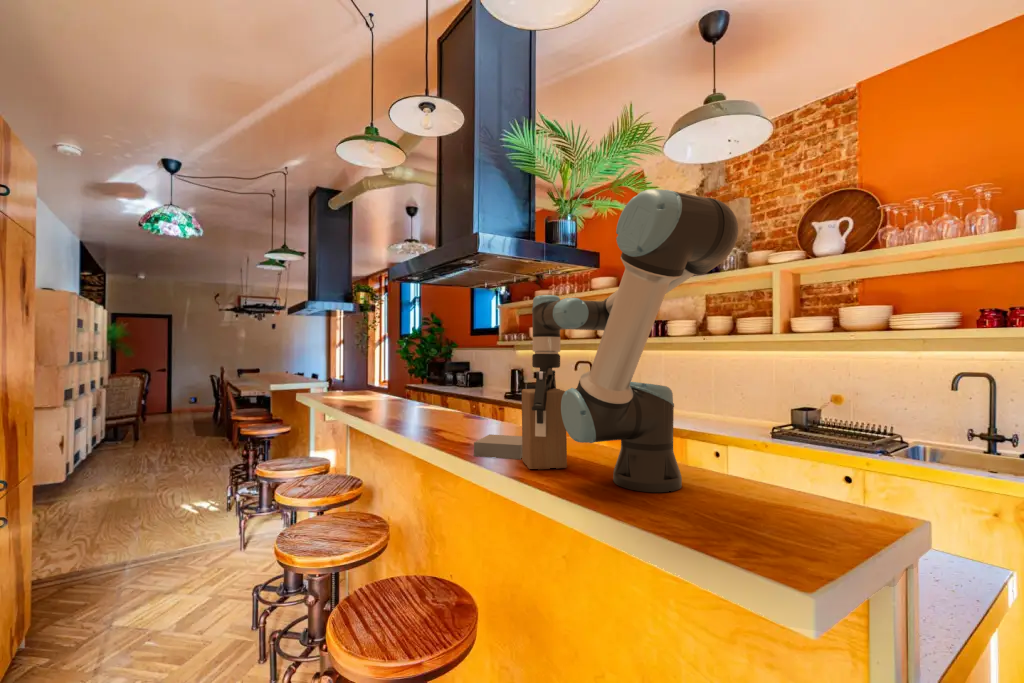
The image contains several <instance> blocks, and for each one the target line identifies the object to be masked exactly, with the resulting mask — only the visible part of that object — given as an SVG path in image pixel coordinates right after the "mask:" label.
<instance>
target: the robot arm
mask: <svg viewBox="0 0 1024 683" xmlns="http://www.w3.org/2000/svg"><path fill="white" fill-rule="evenodd" d="M615 230H616V231H615V233H616V234H617V236H616V244H617V247H618V248H619V250H620V251H621V255H620V260H621V262H622V264H623V266H624V272H623V275H622V276H621V280H620V283H619V286H618V288H617V290H616V291H614V292H613V293H612V294H610V295H609V296H608V297H607V298H605V299H604V300H599V301H596V300H583V299H580V298H578V297H566V298H563V299H561V298H560V296H558V295H555V294H543V295H542V294H541V295H536V296H535V297H533V299H532V309H531V312H532V340H531V341H529V342H530V345H532V352H534V353H532V356H531V357H532V358H531V359H532V360H531V362H532V363H531V365H532V367H533V368H534V369H535V368H536V369H539V371H536V373H535V388H534V389H535V395H534V404H533V407H532V410H535V436H540V437H546V411H545V407H546V400H547V391H548V390H550V389H554V388H555V389H557V385H556V382H557V381H556V370H555V369H556V368H557V369H558V368H560V367H561V355H560V354H559V353H560V352H561V330H562V331H563V330H573V331H574V330H577V331H602V332H603V333H602V335H601V339H600V342H599V344H598V347H597V350H596V353H595V356H594V359H593V361H592V364H591V368H590V370H589V371H586V372H584V373H583V374H581V375H580V377H579V380H578V383H577V386H576V388H574V387H571V388H569V389H567V390H564V391H565V392H564V394H563V396H562V400H561V415H562V420H563V423H564V426H565V429H566V434H568V435H569V437H570V438H571V439H572V440H573V441H574V442H577V443H589V444H594V443H600V442H601V443H602V442H613V441H620V450H619V454H618V456H617V459H616V463H615V465H614V469H613V471H612V472H613V475H612V476H613V477H612V478H613V479H612V480H613V483H614V484H615V485H617V486H618V487H620V488H621V487H622V488H624V489H628V490H632V491H636V492H645V493H670V492H669V491H671V492H675V491H678V490H680V489H682V486H683V485H682V484H683V482H682V481H683V479H682V478H683V477H682V474H681V471H680V467H679V465H678V462H677V461H678V460H677V459H676V456H675V452H674V414H675V413H674V411H675V410H674V408H675V403H674V397H673V396H674V395H673V394H674V393H673V391H672V389H671V388H670V387H669V386H666V385H661V384H653V383H645V382H638V381H632V380H633V377H634V374H635V372H636V369H637V367H638V365H639V362H640V359H641V357H642V354H643V352H644V349H645V347H646V343H648V339H649V337H650V335H651V331H652V329H653V326H654V324H655V321H656V319H657V317H658V314H659V311H660V308H661V307H662V304H663V301H664V298H665V296H666V294H667V295H668V293H670V292H671V291H673V290H675V288H677V287H678V286H680V285H681V284H683V283H684V282H686V281H688V280H689V279H691V278H692V277H693V276H694V277H695V276H697V277H700V276H704V275H706V274H707V273H709V272H710V271H711V270H713V269H715V268H716V267H718V266H719V265H720V264H721V263H723V262H724V261H725V260H726V259H727V258H728V257H729V255H730V254H731V253H732V251H733V250H734V248H735V247H736V246H735V245H736V244H737V241H738V238H739V222H738V220H737V216H736V215H735V213H734V211H733V210H732V208H731V207H730V206H728V205H727V204H726V203H725V202H722V201H721V200H720V199H716V198H713V197H712V198H711V197H705V196H698V195H693V194H688V193H685V192H684V193H683V192H678V191H674V190H669V189H657V188H656V189H654V188H651V189H646V190H642V191H640V192H639V193H637V195H635V196H633V197H632V198H631V199H630V200H629V201H628V202H627V203H626V204H625V206H624V208H623V209H622V211H621V213H620V215H619V218H618V221H617V224H616V229H615ZM553 369H554V370H553Z"/></svg>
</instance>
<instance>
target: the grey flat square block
mask: <svg viewBox="0 0 1024 683" xmlns="http://www.w3.org/2000/svg"><path fill="white" fill-rule="evenodd" d="M473 456H474V457H478V456H480V457H482V458H492V457H496V459H507V458H513V459H512V460H522V459H521V458H522V435H507V434H487V435H485V436H483V437H481V438H480V439H478V440H476V441H474V442H473ZM480 457H479V458H480Z"/></svg>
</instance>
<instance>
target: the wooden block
mask: <svg viewBox="0 0 1024 683" xmlns="http://www.w3.org/2000/svg"><path fill="white" fill-rule="evenodd" d="M565 391H566V390H564V389H559V388H556V389H555V388H554V389H550V390H548V391H547V400H546V407H545V411H546V437H540V436H535V410H532V407H533V404H534V395H535V388H523V389H521V436H522V459H521V460H522V462H523V463H524V464H525V466H526V465H527V466H526V467H527V468H528V469H529V470H530V469H538V470H551V469H550V468H556V469H566V468H567V467H568V459H567V458H568V455H567V454H568V451H567V448H568V447H567V443H568V442H567V431H566V429H565V426H564V423H563V420H562V415H561V400H562V396H563V394H564V392H565Z"/></svg>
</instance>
